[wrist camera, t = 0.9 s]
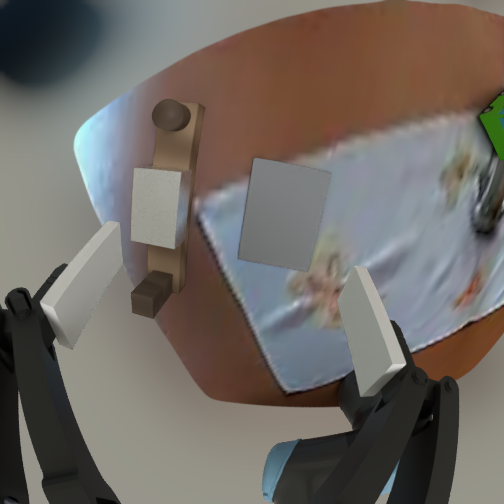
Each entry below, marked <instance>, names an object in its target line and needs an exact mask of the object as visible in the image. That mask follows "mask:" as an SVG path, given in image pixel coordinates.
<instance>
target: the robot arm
mask: <svg viewBox="0 0 504 504" xmlns="http://www.w3.org/2000/svg"><path fill="white" fill-rule="evenodd" d="M122 264H123V258H122V247H121V234H120V223H119V222H113V221H107V222H106V223H105V224H104V225H103V226H102V228H101V229H100V230H99V231H98V232H97V233H96V234H95V235H94V236H93V237H92V238H91V239H90V241H89V242H88V243H87V244H86V245H85V246H84V248H83V249H82V250H81V251H80V252H79V253H78V254H77V255H76V257H75V258H74V259H73V260H72V261H71V263H70V264H69V265H68V264H62V265H61V266H59V267H58V268H56V269H55V270H54V271H53V273H52V274H51V275H50V277H48V279H47V280H46V282H45V283H44V284H43V285H42V286H41V288H40V289H39V290H38V291H37V293H36V294H35V295H34V297H33V298H31V296H30V293H29V291H28V290H27V289H26V288H22V287H21V288H16V289H14V290H12V291H11V292H9V293H8V295H7V296H6V298H5V304H6V306H7V308H8V310H7V309H2V307H1V305H0V504H29V495H28V489H27V484H26V479H25V473H24V467H23V461H22V454H21V446H20V435H19V414H18V390H19V394H20V399H21V404H22V408H23V412H24V416H25V420H26V424H27V428H28V431H29V435H30V438H31V441H32V444H33V448H34V450H35V453H36V456H37V459H38V461H39V464H40V467H41V469H42V472H43V477H44V478H43V480H42V488H43V490H44V493H45V495H46V497H47V500H48V501H49V503H50V504H121V503H120V501H119V500H118V498H117V496H116V495H115V493H114V492H113V490H112V489H111V488H110V487H109V485H108V484H107V483H106V482H105V481H104V479H103V478H102V476H101V474H100V472H99V471H98V468H97V466H96V464H95V462H94V460H93V458H92V456H91V454H90V452H89V450H88V448H87V445H86V444H85V441H84V439H83V436H82V434H81V432H80V429H79V427H78V424H77V421H76V419H75V416H74V413H73V411H72V408H71V405H70V402H69V399H68V396H67V393H66V390H65V386H64V383H63V379H62V376H61V372H60V368H59V365H58V360H57V356H56V352H55V347H54V345H53V341H54V339H55V337H56V338H57V340H58V342H59V344H60V345H62V346H64V347H67V348H69V349H72V350H73V348H74V346H75V344H76V342H77V340H78V338H79V336H80V334H81V333H82V331H83V329H84V327H85V325H86V323H87V321H88V320H89V318H90V316H91V314H92V313H93V311H94V309H95V307H96V306H97V304H98V302H99V301H100V299H101V297H102V296H103V294H104V292H105V291H106V289H107V288H108V286H109V284H110V283H111V281H112V280H113V278H114V276H115V275H116V273H117V272H118V270H119V269H120V267H121V266H122ZM337 304H338V307H339V311H340V314H341V318H342V322H343V325H344V329H345V333H346V337H347V341H348V345H349V349H350V353H351V357H352V361H353V365H354V371H353V372H351V373H350V374H349V375H348V376H347V377H346V378H345V379H344V380H343V381H342V382H341V384H340V385H339V388H338V391H337V398H338V403H339V406H340V408H341V410H343V412H344V414H345V416H346V417H347V419H348V420H349V422H350V423H351V425H352V429H353V431H349V432H344V433H339V434H334V435H329V436H323V437H317V438H311V439H304V440H302V439H298V440H295V441H289V442H282V443H278V444H276V445H275V446H274V447H273V448H272V449H271V450H270V452H269V454H268V457H267V460H266V463H265V467H264V473H263V481H262V490H263V497H264V499H265V500H266V501H268V502H270V503H272V502H274V504H375V502H376V501H377V499H378V497H379V496H380V495H383V494H386V493H388V492H390V495H389V498H388V501H387V503H386V504H448V501H449V497H450V492H451V487H452V482H453V476H454V470H455V462H456V453H457V443H458V428H459V388H458V385H457V383H456V381H455V380H454V379H453V378H452V377H450V376H445V377H443V378H442V379H441V380H440V381H435V380H432V379H429V378H428V376H427V374H426V372H425V371H423V370H422V369H421V368H419V367H416V366H415V364H414V361H413V358H412V356H411V353H410V351H409V348H408V346H407V344H406V341H405V338H403V337H404V336H403V333H402V331H401V329H400V327H399V326H398V325H397V323H396V322H395V321H392V320H389V318H388V315H387V313H386V311H385V308H384V306H383V304H382V301H381V299H380V297H379V295H378V292H377V290H376V288H375V286H374V284H373V282H372V279H371V277H370V275H369V273H368V271H367V269H366V268H365V267H360V266H355V265H354V267H353V270H352V272H351V274H350V276H349V278H348V280H347V282H346V284H345V286H344V288H343V290H342V292H341V294H340V296H339V298H338V300H337ZM432 415H433V419H432Z"/></svg>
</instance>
